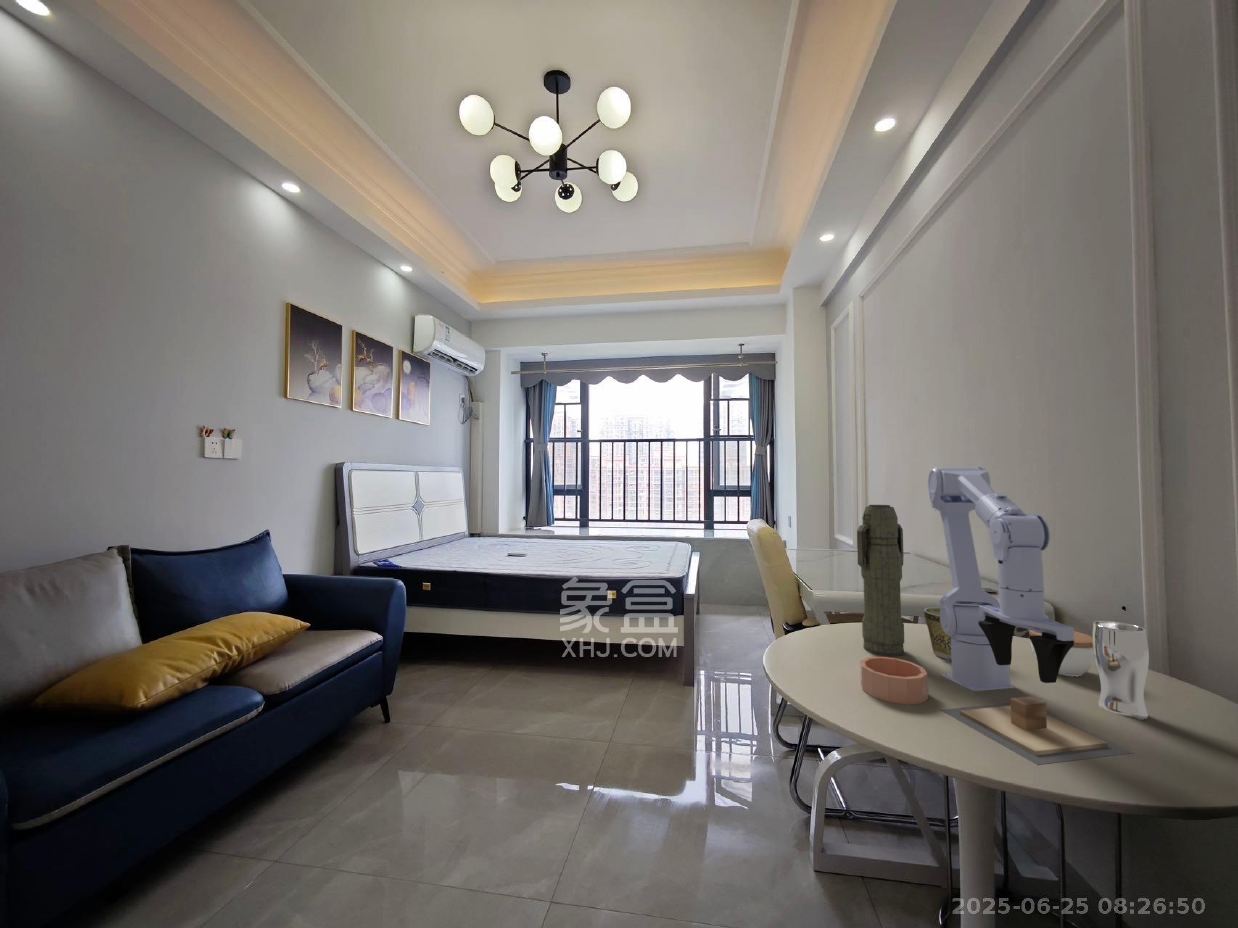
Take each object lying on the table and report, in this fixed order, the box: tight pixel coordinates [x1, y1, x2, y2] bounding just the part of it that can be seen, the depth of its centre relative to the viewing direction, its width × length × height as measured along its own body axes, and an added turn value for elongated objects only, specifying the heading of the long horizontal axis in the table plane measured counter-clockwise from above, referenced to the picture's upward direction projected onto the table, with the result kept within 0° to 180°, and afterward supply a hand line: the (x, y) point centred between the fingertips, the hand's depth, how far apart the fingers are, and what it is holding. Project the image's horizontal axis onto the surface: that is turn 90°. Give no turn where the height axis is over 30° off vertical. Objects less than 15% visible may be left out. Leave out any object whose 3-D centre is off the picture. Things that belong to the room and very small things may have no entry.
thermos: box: [856, 504, 905, 657], centre depth 119 cm, size 9×12×35 cm
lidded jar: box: [1028, 630, 1095, 678], centre depth 105 cm, size 11×11×9 cm
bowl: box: [859, 656, 929, 705], centre depth 94 cm, size 11×11×5 cm
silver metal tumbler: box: [1091, 620, 1150, 721], centre depth 86 cm, size 7×7×15 cm
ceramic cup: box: [923, 606, 952, 661], centre depth 115 cm, size 13×10×10 cm
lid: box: [960, 696, 1108, 755], centre depth 79 cm, size 13×13×5 cm
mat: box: [940, 702, 1135, 766], centre depth 79 cm, size 17×17×1 cm
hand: (1024, 672), depth 80 cm, fingers open, 7 cm apart
